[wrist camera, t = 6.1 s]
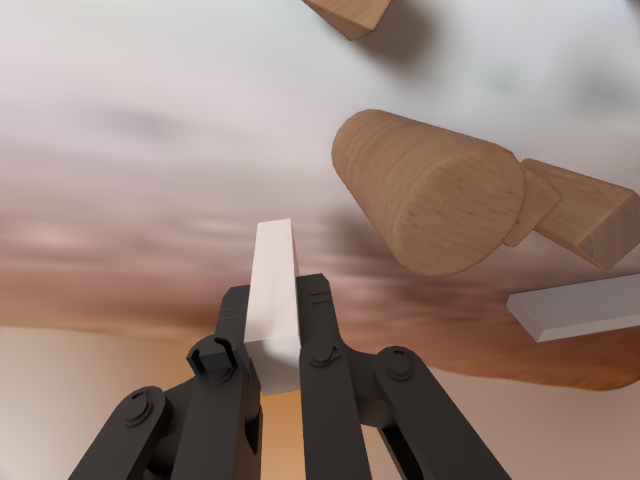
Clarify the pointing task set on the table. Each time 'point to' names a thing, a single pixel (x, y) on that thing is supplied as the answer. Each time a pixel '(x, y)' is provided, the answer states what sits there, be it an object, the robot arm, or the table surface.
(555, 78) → the table surface
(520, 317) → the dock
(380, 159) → the wooden block set
